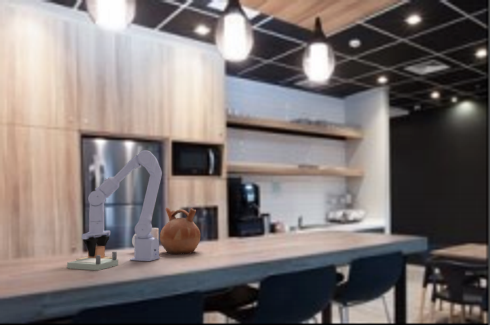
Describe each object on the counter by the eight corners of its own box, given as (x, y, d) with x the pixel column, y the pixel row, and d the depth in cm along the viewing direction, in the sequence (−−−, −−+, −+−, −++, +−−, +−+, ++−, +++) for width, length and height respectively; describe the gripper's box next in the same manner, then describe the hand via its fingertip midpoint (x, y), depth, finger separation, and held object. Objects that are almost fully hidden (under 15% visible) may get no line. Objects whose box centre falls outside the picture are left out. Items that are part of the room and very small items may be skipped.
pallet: (116, 259, 169) (116, 256, 169) (100, 263, 160) (101, 260, 161) (92, 258, 173) (92, 255, 173) (76, 262, 165) (76, 258, 165)
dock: (118, 264, 158) (118, 251, 158) (98, 270, 147) (98, 256, 148) (88, 263, 163) (88, 250, 163) (67, 268, 152) (67, 254, 153)
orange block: (104, 257, 168) (104, 246, 168) (97, 259, 164) (97, 247, 164) (95, 256, 170) (95, 245, 170) (87, 258, 166) (87, 247, 166)
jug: (150, 254, 183) (151, 208, 184) (173, 248, 199) (173, 206, 201) (187, 256, 176) (187, 208, 177) (207, 250, 192) (207, 206, 194)
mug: (133, 253, 185) (133, 230, 186) (130, 251, 193) (130, 228, 193) (160, 251, 191) (160, 228, 191) (155, 249, 198) (155, 227, 199)
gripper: (100, 219, 176) (100, 252, 175) (75, 222, 162) (75, 257, 162) (114, 220, 173) (114, 253, 173) (90, 222, 160) (89, 258, 159)
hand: (96, 255), depth 167 cm, fingers closed on orange block, 4 cm apart
